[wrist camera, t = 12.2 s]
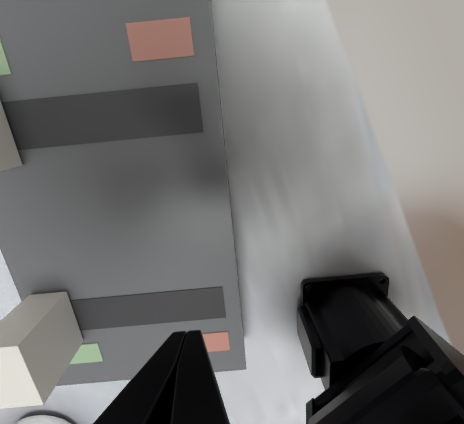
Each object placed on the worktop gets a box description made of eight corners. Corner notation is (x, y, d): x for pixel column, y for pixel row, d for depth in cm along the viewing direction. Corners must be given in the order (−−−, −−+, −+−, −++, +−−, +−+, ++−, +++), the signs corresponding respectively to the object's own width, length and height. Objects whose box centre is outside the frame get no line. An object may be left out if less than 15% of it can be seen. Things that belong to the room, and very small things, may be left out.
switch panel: (209, -10, 15) (205, -39, 12) (243, 338, 23) (246, 370, 20) (-43, 16, 15) (-106, -6, 13) (76, 352, 23) (55, 386, 20)
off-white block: (66, 291, 18) (17, 345, 14) (83, 341, 19) (43, 404, 15) (29, 294, 18) (-32, 350, 14) (48, 344, 19) (-1, 408, 15)
